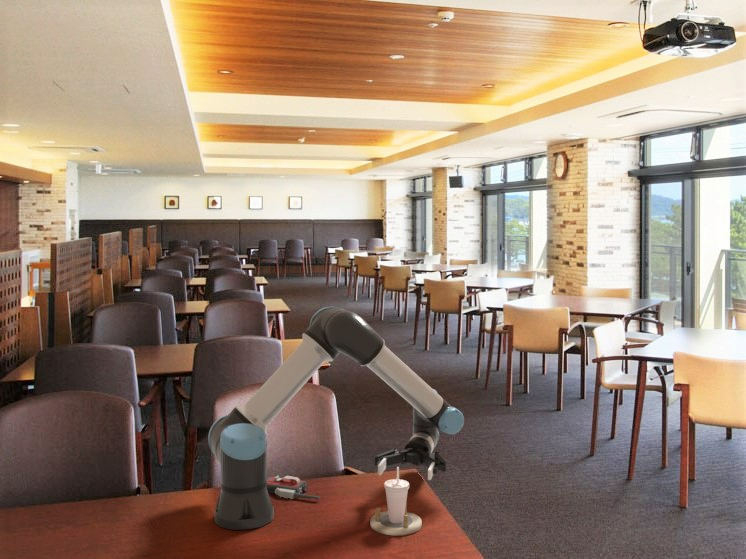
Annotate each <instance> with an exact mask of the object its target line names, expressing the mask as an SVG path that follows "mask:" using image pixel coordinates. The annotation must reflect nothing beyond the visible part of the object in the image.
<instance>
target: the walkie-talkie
mask: <svg viewBox="0 0 746 559" xmlns="http://www.w3.org/2000/svg"><path fill="white" fill-rule="evenodd" d="M267 490H268V492H271V493H270V494H273V493H275V494H274V495H276V496H277V495H278V496H277V497H279V496H280V497H279V498H281V497H284V498H283V499H288V498H290V499H289V500H294V499H295V498H297V499H298V498H299V499H307V500H311V499H314V500H321V497H320V496H319V495H312V494H311V495H310V494H304V492H307V491H308V484H307V481H305V480H301V479H300V477H298V476H292V475H291V476H290V475H285V476H284V477H280V476H279V475H276V476H269V477H267ZM303 491H304V492H303ZM300 493H301V494H300ZM294 497H295V498H294Z"/></svg>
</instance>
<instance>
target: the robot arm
mask: <svg viewBox="0 0 746 559" xmlns="http://www.w3.org/2000/svg"><path fill="white" fill-rule="evenodd" d="M385 342H386V341H385V339H384V338H383V337H382V336H381V335H380V334H379V333H377V331H376V330H374V328H373V327H372V326H371V325H370V324H369V323H367V321H366V320H365V319H364V318H362V317H361V316H360V315H358V314H357V313H356V312H353V311H349V310H346V309H344V308H342V307H339V306H338V307H337V306H327V307H323V308H320V309H319V310H317V311H316V312H315V313H314V314H313V315H312V317H311V319H310V321H309V327H307V329H305V331H304V332H303V333H302V342H301V343H300V344H299V345H298V346H297V347H296V348H295V350H294V351H292V352H291V354H290V355H288V357H287V358H286V359H285V360H284V362H283V363H281V365H280V366H279V367H278V368H277V369H276V370H275V371H274V372H273V374H272V375H271V376H269V378H268V379H267V380H266V381H265V382H264V383H263V384H262V385H261V387H260V388H259V389H258V390H257V391H256V392H255V393H254V395H252V396H251V397H250V398H249V400H248V401H246V403H245V404H243V405H236V406H235V407H234V408H233V409H232V410H231V411H230V412H229V413H228V414H226V415H224V416H223V415H222V416H221V417H220V418H218V419H216V420H215V421H214V423H213V424H212V425H211V427H210V429H209V431H208V438H207V440H208V441H207V442H208V446H209V449H210V452H211V454H213V457H214V456H215V458H216V459H217V461H218V462H219V465H220V493H219V496H218V500H217V502H216V507H215V509H214V523H215V524H216V525H217V526H218V527H221V528H223V529H225V530H226V529H228V530H233V531H234V530H237V531H239V530H240V531H241V530H242V531H243V530H244V531H245V530H252V529H257V528H261V527H263V526H266V525H268V524H269V523H270V522H272V521H273V519H274V518H275V517H274V516H275V512H274V511H275V510H274V505H273V503H272V501H271V500H272V499H271V496H270V493H268V490H267V478H268V477H267V475H268V474H267V473H268V471H267V467H268V465H267V464H268V463H267V461H268V460H267V448H268V441H267V435H268V432H267V431H268V426H269V424H270V423H271V422H272V421H273V420H274V419H275V418H276V416H278V415H279V414H280V412H281V411H282V410H283V408H284V407H286V406H287V404H289V402H290V401H291V400H292V399H293V398H294V396H296V394H297V393H299V391H300V390H301V389H302V388H303V387H304V385H306V384H307V382H308V381H309V380H310V379H311V378H312V377H313V376H314V374H315V373H316V372H317V371H318V370H319V369H320V368H321V367H322V365H324V363H327V362H333V361H334V360H335V359H336V358H337V357H338V356H339V355H340V353H341V354H343V355H345V356H346V357H349V358H350V359H352V360H353V361H355V363H358V365H359V366H360V367H367V368H368V369H370V370H371V371H372V372H373V373H374V374H375V375H376V376H378V377H379V378H380V379H381V380H382V381H383V383H384V382H385V383H386V384H387V385H388V386H389V387H390V388H391V389H392V390H393V391H395V392H396V393H397V394H398V395H399V396H400V397H402V398H403V399H404V400H405V401H406V402H407V403H408V404H409V405H411V406H412V436H411V437H410V439H409V440H408V441H407V443H406V444H405V446H404V449H402V450H400V451H399V450H397V448H396V447H393V448H391V449H390V450H388V451H384V452H382V453H379V454H377V455H374V457H373V458H374V465H375V466H377V467H376V469H377V476H380V477H381V476H382V475H383V473H384V471H385V470H386V469H387V467H388V466H392V465H396V464H402V465H403V464H408V463H409V464H411V465H414V466H422V467H423V466H424V467H425V466H426V467H427V468H428V469H427V481H431V480H432V478H433V477H434V475H437V474H438V473H439V472H440V471H441V472H444V473H445V472H447V461H445V459H444V458H443V457H442V456H441V455H440V452H439V451H434V449H435V448H436V447H437V445H438V443H439V441H440V440H439V439H440V432H442V433H445V434H448V435H455V434H458V433H459V432H460V431H461V430H462V429H463V427H464V424H465V417H464V414H463V412H461V411H460V410H459V409H458V408H457V407H454V406H452V405H451V404H449V403H448V401H446V399H444V398H443V397H442V396H441V395H440V394H439V393H438V391H437V390H436V389H434V388H432V387H431V385H429V384H428V383H427V382H425V380H423V378H421V377H420V376H419V375H418V374H417V373H416V372H415V371H413V370H412V369H411V368H410V366H408V365H407V364H406V363H404V361H402V360H401V358H399V357H398V356H397V354H395V353H393V351H392V350H390V348H389V347H387V346H386V344H385ZM439 430H440V432H439ZM433 451H434V452H433Z"/></svg>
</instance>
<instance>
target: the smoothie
mask: <svg viewBox="0 0 746 559" xmlns="http://www.w3.org/2000/svg"><path fill="white" fill-rule="evenodd" d="M383 484H384V485H383V486H384V487H383V488H384V489H385V495H386V505H387V511H388V513H389V521H390V522H392V523H402V522H403V521H404V515H405V508H406V503H407V501H408V500H407V498H408V493H409V492H408V490H409V489H410V483H409V481H407V480H405V479H400V467H399V466H397V467H396V478H392V479H388V480H386V481H384V483H383Z"/></svg>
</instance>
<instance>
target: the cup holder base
mask: <svg viewBox="0 0 746 559" xmlns="http://www.w3.org/2000/svg"><path fill="white" fill-rule="evenodd" d="M407 506H408V504H407V502H406V508H405V515H404V521H403V522H402V523H392V522H390V521H389V513H388V510H386V511H382V512H381V508H377V507H376V508H375V514H374V515H372V517H371V518H370V524H369V525H370V528H371V529H372V530H373V531H375V532H376V533H380V534H381V535H386V536H394V537H395V536H398V537H399V536H407V535H411V534H414V533H416V532H418V531H420V530H421V528H422V527H423V526H422V524H423V523H422V522H423V521H422V518H421V517H420V516H418V514H416V513H413V512H408V511H407Z"/></svg>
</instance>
